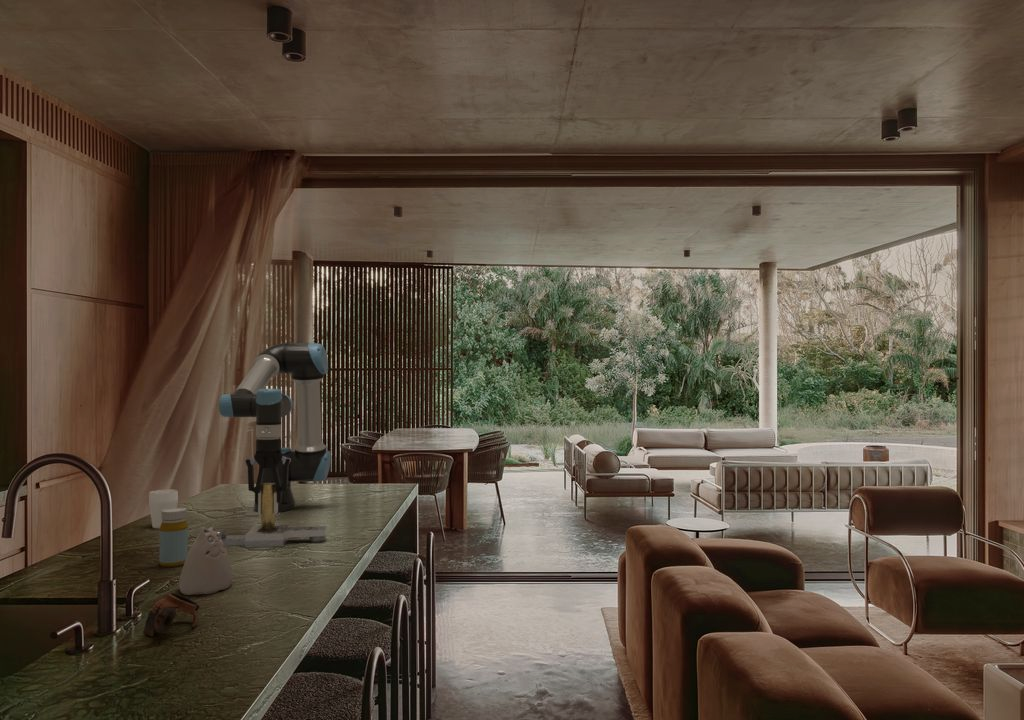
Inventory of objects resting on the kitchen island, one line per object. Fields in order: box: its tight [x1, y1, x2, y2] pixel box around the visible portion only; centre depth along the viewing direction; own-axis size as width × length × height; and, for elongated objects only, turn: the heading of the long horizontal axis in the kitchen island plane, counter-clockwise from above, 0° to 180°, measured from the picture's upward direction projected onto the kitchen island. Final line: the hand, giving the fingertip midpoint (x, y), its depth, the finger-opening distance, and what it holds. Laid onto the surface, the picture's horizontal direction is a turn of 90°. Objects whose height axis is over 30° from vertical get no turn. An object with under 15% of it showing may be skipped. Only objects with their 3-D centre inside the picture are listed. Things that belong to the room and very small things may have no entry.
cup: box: [148, 488, 179, 530], centre depth 236 cm, size 9×9×12 cm
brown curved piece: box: [143, 592, 201, 637], centre depth 142 cm, size 12×10×8 cm
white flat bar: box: [215, 524, 328, 549], centre depth 214 cm, size 11×35×4 cm, turn 99°
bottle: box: [158, 507, 189, 568], centre depth 190 cm, size 7×7×15 cm
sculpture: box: [178, 526, 233, 596], centre depth 170 cm, size 13×12×15 cm
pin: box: [260, 483, 276, 530], centre depth 214 cm, size 4×4×14 cm
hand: (268, 513), depth 214 cm, fingers closed on pin, 4 cm apart
